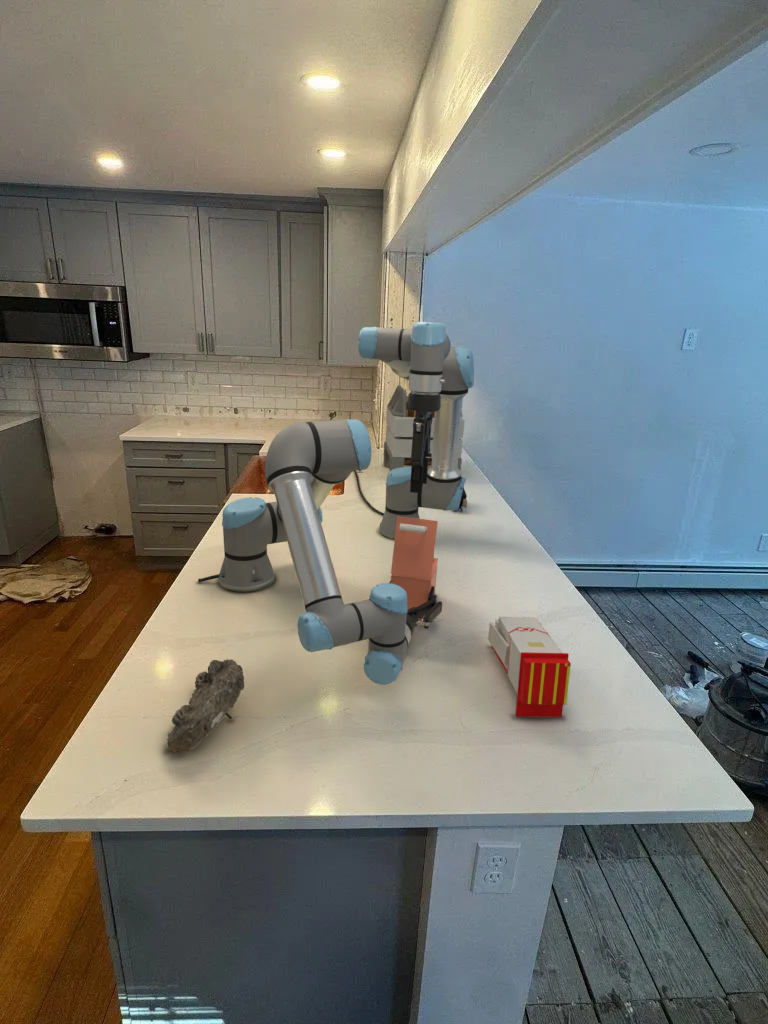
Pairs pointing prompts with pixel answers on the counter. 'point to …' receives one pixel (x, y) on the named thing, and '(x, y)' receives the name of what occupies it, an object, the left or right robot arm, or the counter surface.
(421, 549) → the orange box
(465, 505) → the figurine character
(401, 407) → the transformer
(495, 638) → the toy
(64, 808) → the counter surface
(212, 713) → the fossil
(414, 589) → the chest
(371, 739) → the counter surface
